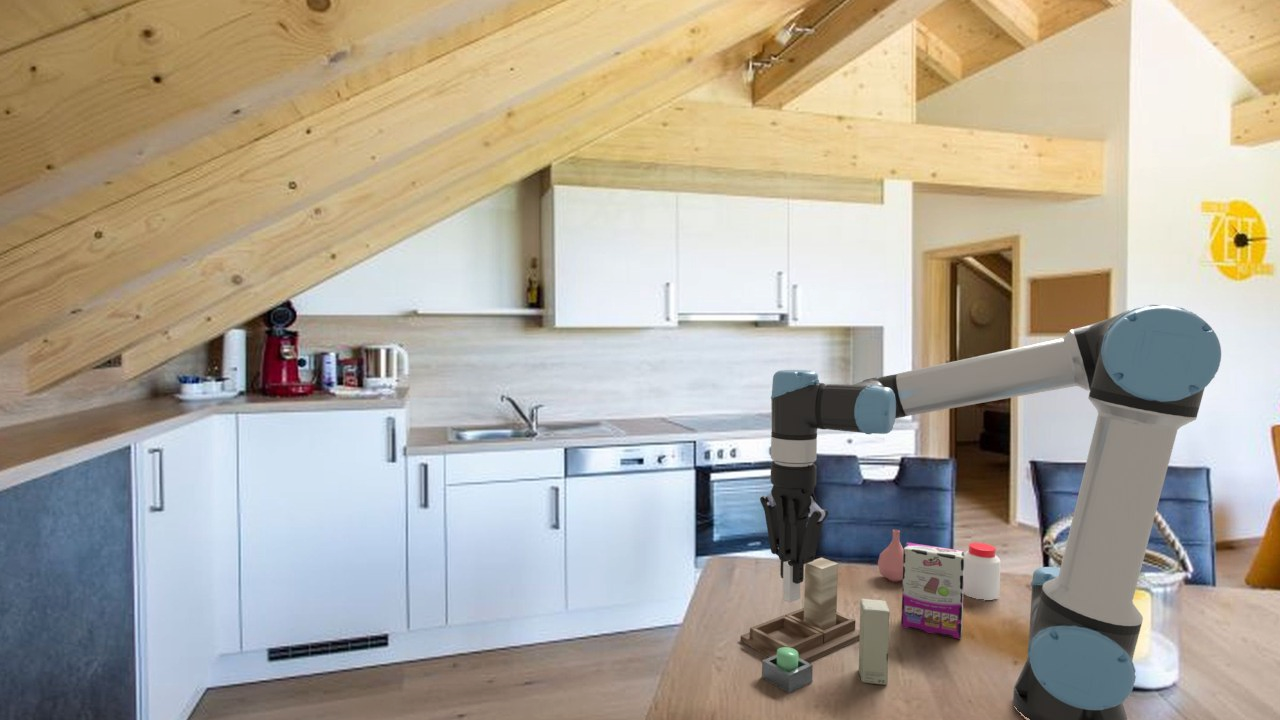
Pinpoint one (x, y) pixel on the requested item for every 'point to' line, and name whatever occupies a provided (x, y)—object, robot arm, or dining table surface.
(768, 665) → the grey square tray
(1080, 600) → the robot arm
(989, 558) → the pill bottle
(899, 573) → the perfume bottle
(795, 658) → the button
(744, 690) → the dining table surface
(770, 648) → the tray
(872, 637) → the box
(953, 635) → the candy bar box
